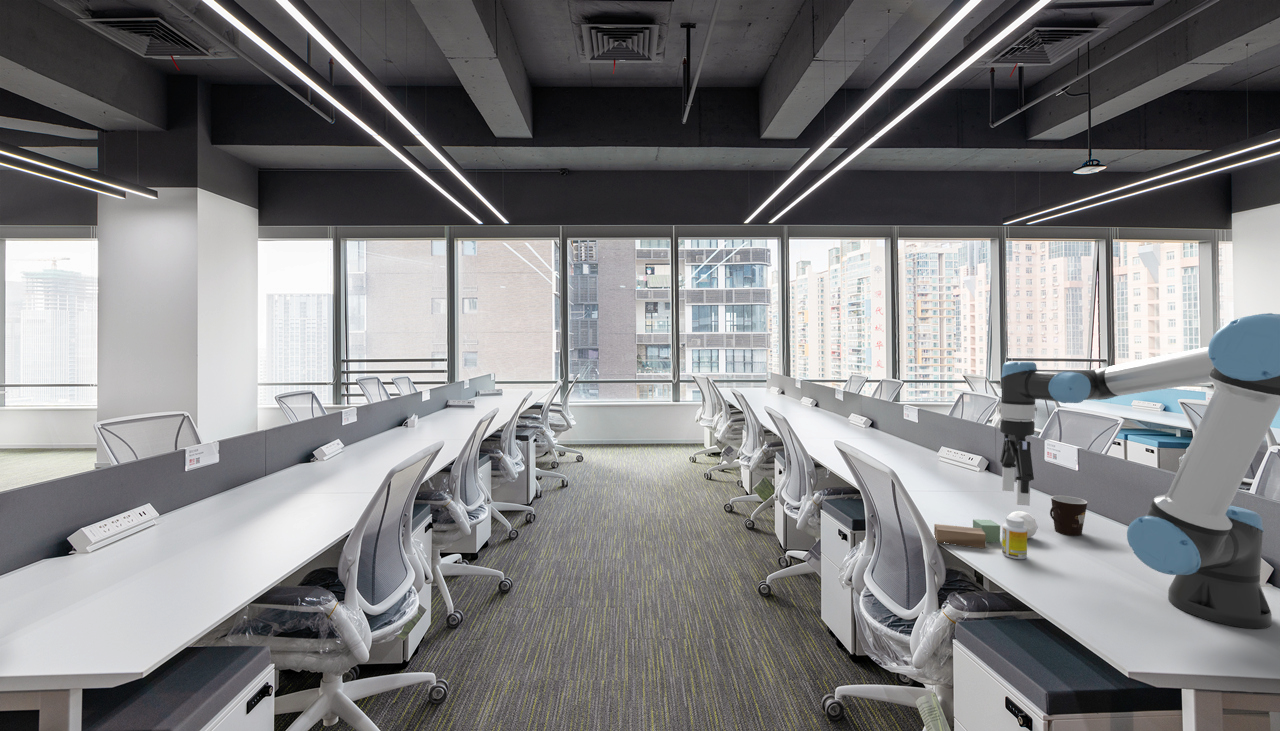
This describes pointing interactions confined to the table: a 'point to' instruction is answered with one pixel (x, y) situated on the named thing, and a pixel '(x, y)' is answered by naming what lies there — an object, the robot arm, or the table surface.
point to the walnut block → (960, 535)
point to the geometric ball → (1026, 522)
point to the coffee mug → (1068, 514)
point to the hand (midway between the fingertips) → (1015, 497)
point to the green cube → (988, 529)
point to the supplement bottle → (1014, 538)
